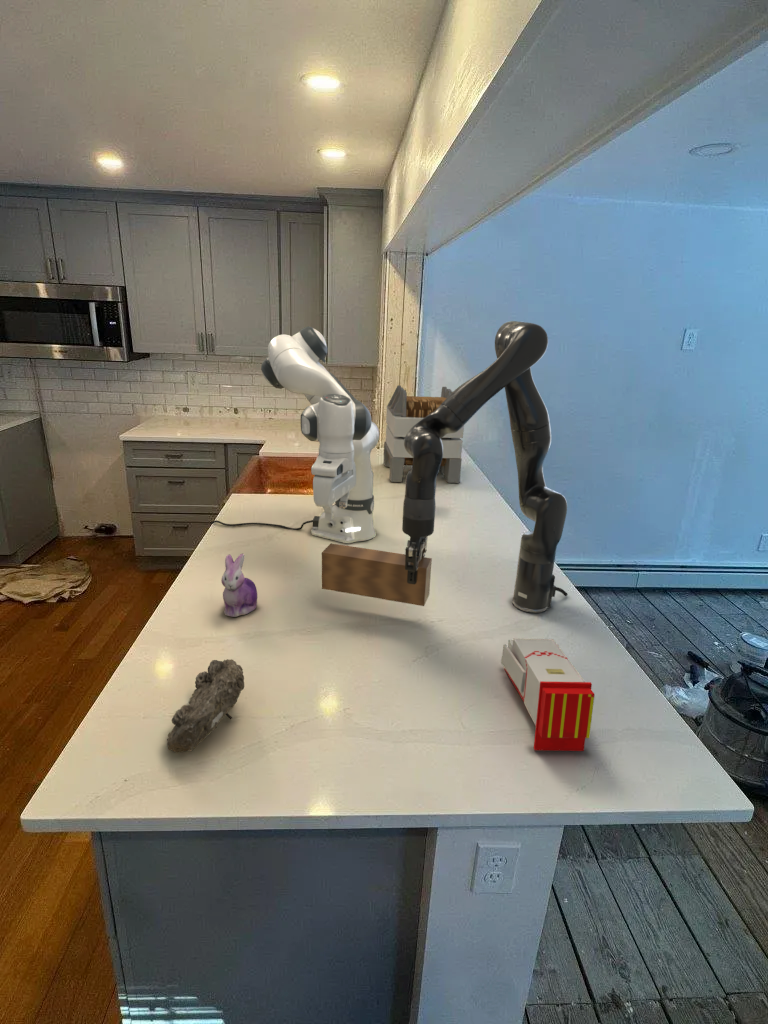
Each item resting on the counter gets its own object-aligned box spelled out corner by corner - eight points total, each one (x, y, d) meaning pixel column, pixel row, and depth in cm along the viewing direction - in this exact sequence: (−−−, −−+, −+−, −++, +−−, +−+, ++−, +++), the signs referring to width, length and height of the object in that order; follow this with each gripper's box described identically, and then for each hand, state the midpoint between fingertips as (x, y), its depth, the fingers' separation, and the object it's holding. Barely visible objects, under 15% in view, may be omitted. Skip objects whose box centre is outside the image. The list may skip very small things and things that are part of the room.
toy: (549, 621, 128) (604, 690, 99) (544, 676, 131) (595, 758, 101) (496, 620, 128) (535, 688, 98) (492, 675, 130) (528, 757, 101)
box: (321, 588, 144) (321, 552, 140) (330, 578, 150) (330, 543, 146) (424, 606, 137) (426, 568, 134) (429, 594, 143) (431, 558, 140)
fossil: (192, 660, 117) (244, 628, 112) (224, 691, 120) (276, 661, 115) (142, 746, 98) (202, 712, 93) (182, 779, 101) (242, 748, 96)
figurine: (226, 621, 140) (223, 566, 135) (217, 603, 148) (214, 550, 143) (264, 614, 144) (262, 560, 139) (253, 596, 153) (251, 545, 148)
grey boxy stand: (382, 463, 289) (386, 382, 275) (445, 464, 293) (451, 384, 279) (390, 482, 257) (394, 392, 243) (460, 483, 261) (468, 394, 247)
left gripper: (340, 451, 152) (340, 500, 156) (307, 469, 133) (309, 524, 138) (362, 453, 150) (361, 502, 155) (332, 472, 132) (333, 527, 136)
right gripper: (428, 525, 126) (423, 592, 132) (440, 505, 139) (435, 567, 145) (395, 521, 128) (392, 587, 133) (410, 502, 141) (407, 563, 146)
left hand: (336, 513), depth 146 cm, fingers open, 8 cm apart
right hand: (415, 577), depth 139 cm, fingers closed on box, 6 cm apart
